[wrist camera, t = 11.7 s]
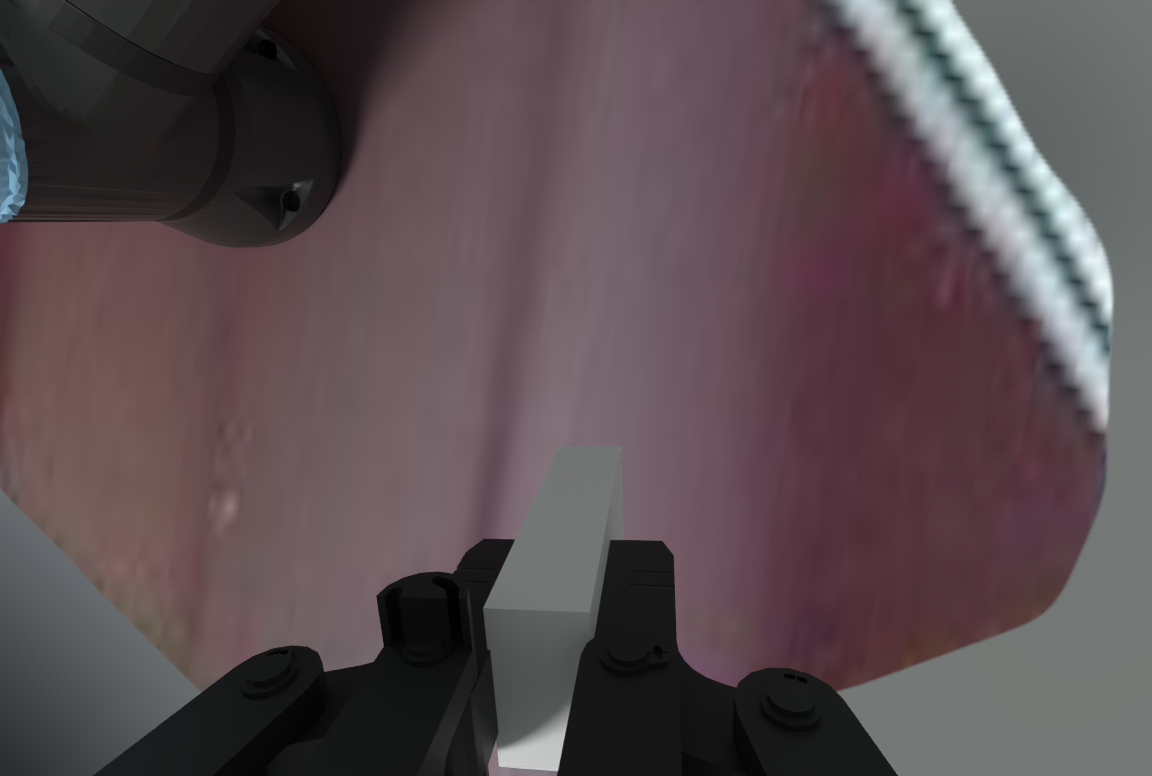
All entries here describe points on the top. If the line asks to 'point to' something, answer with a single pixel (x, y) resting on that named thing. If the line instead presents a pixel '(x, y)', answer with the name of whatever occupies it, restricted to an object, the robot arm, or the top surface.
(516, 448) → the top surface
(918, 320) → the top surface
